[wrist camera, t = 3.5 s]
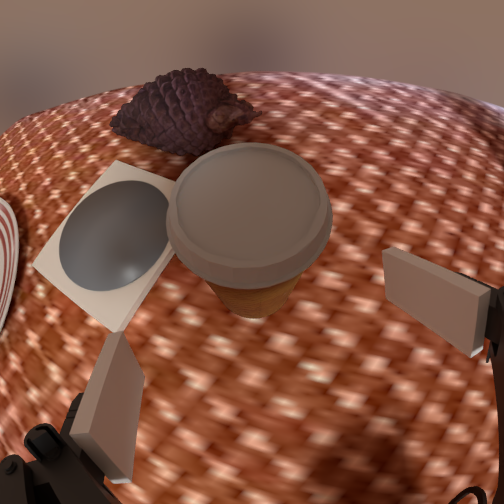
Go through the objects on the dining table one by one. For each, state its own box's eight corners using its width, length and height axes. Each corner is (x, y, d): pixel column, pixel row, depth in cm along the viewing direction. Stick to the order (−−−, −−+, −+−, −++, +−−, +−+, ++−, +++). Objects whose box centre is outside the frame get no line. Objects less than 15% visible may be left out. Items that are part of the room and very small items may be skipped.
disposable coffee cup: (239, 359, 24) (219, 317, 13) (180, 271, 28) (135, 185, 17) (331, 294, 26) (372, 212, 16) (266, 219, 30) (266, 119, 20)
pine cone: (114, 178, 34) (82, 114, 25) (133, 126, 39) (113, 68, 30) (263, 168, 33) (262, 92, 25) (261, 115, 38) (259, 49, 29)
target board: (118, 165, 35) (115, 158, 34) (211, 201, 31) (210, 193, 30) (36, 268, 28) (30, 264, 27) (120, 336, 25) (114, 333, 24)
